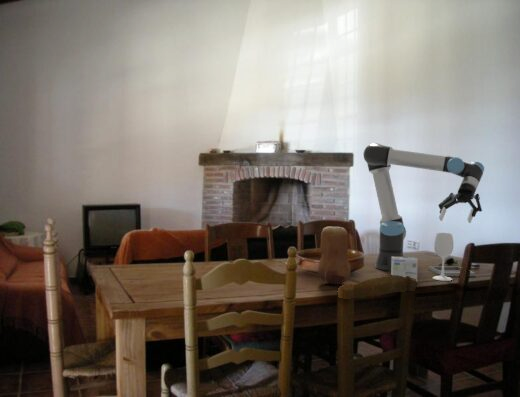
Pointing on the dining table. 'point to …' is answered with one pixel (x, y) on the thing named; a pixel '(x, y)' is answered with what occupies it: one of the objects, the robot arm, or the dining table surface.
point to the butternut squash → (334, 256)
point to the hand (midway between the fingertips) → (454, 220)
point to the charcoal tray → (448, 270)
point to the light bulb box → (404, 266)
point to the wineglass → (443, 251)
